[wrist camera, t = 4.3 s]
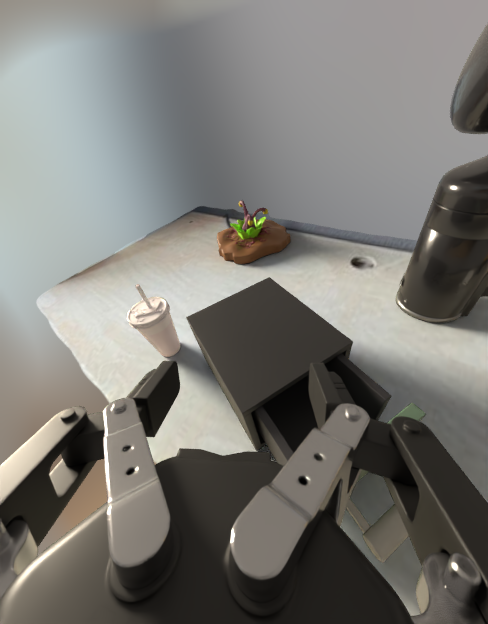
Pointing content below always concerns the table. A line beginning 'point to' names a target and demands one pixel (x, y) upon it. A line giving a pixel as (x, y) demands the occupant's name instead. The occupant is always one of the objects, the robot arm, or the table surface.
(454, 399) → the table surface
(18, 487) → the robot arm
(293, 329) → the cabinet
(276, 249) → the plant
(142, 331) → the smoothie
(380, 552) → the drawer
